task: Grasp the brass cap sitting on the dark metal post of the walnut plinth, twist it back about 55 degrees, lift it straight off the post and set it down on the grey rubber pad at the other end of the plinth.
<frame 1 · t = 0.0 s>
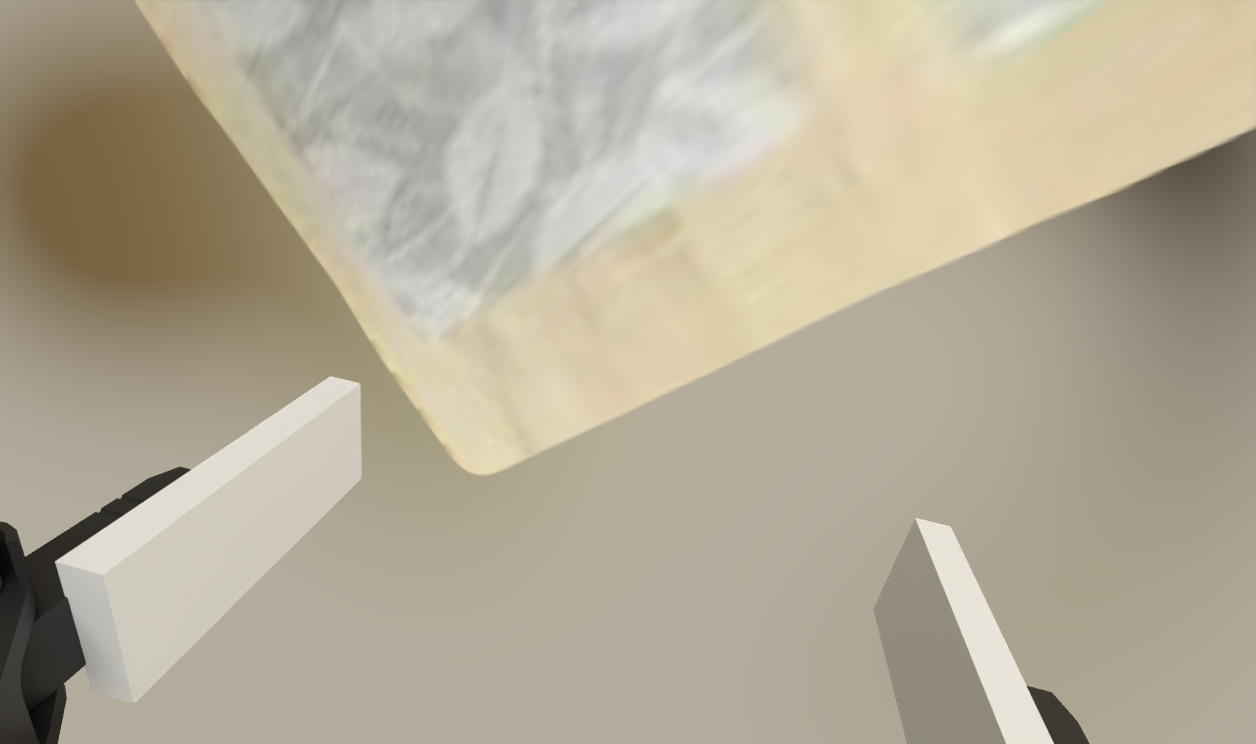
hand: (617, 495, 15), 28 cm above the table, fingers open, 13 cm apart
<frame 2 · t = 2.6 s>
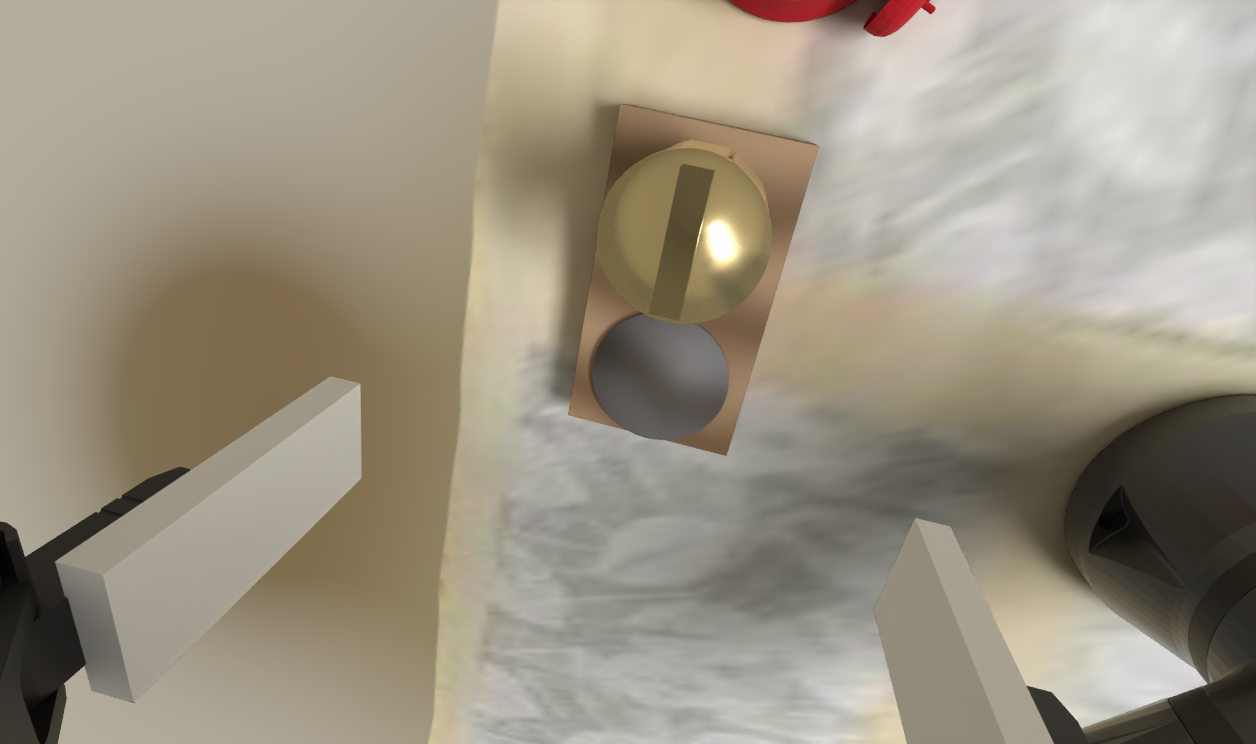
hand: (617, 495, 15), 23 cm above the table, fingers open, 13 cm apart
post plinth: (681, 287, 36), on the table
cap: (694, 215, 30), point 5 cm above the table, touching post plinth
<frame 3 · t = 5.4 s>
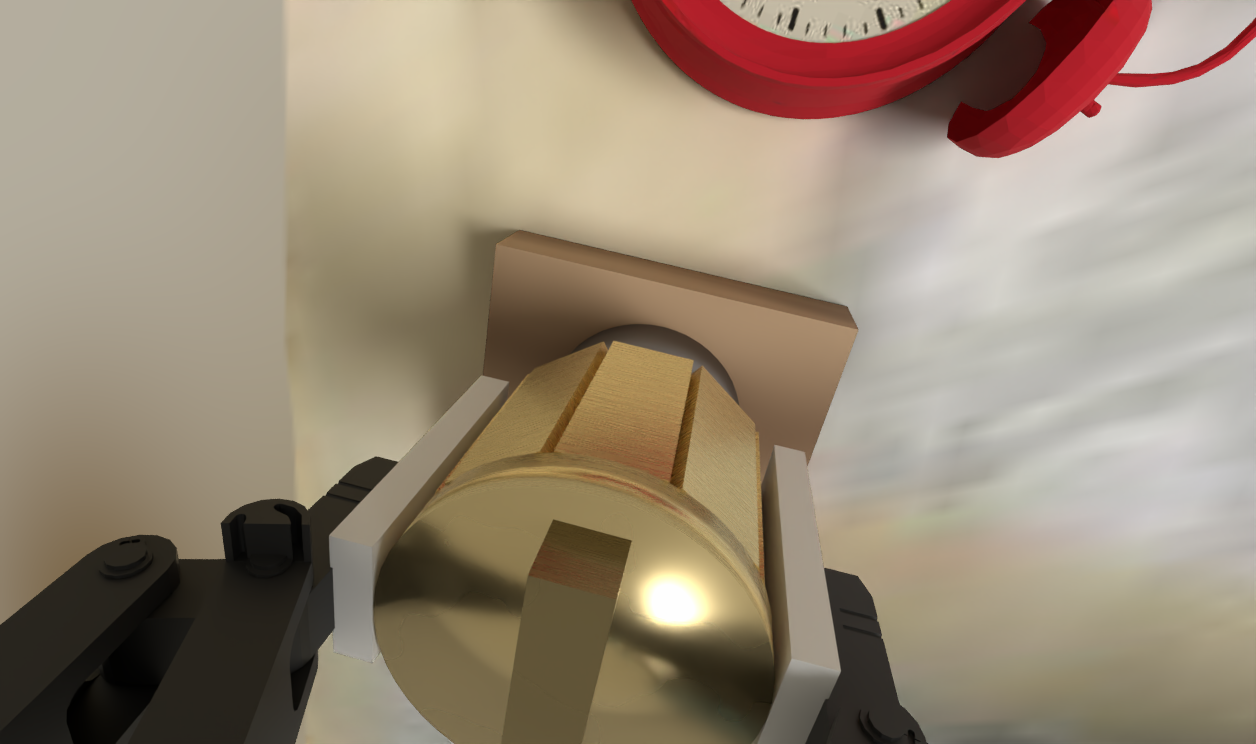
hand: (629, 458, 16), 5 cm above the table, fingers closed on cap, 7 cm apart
post plinth: (624, 507, 22), on the table
cap: (626, 468, 16), point 5 cm above the table, touching gripper, post plinth
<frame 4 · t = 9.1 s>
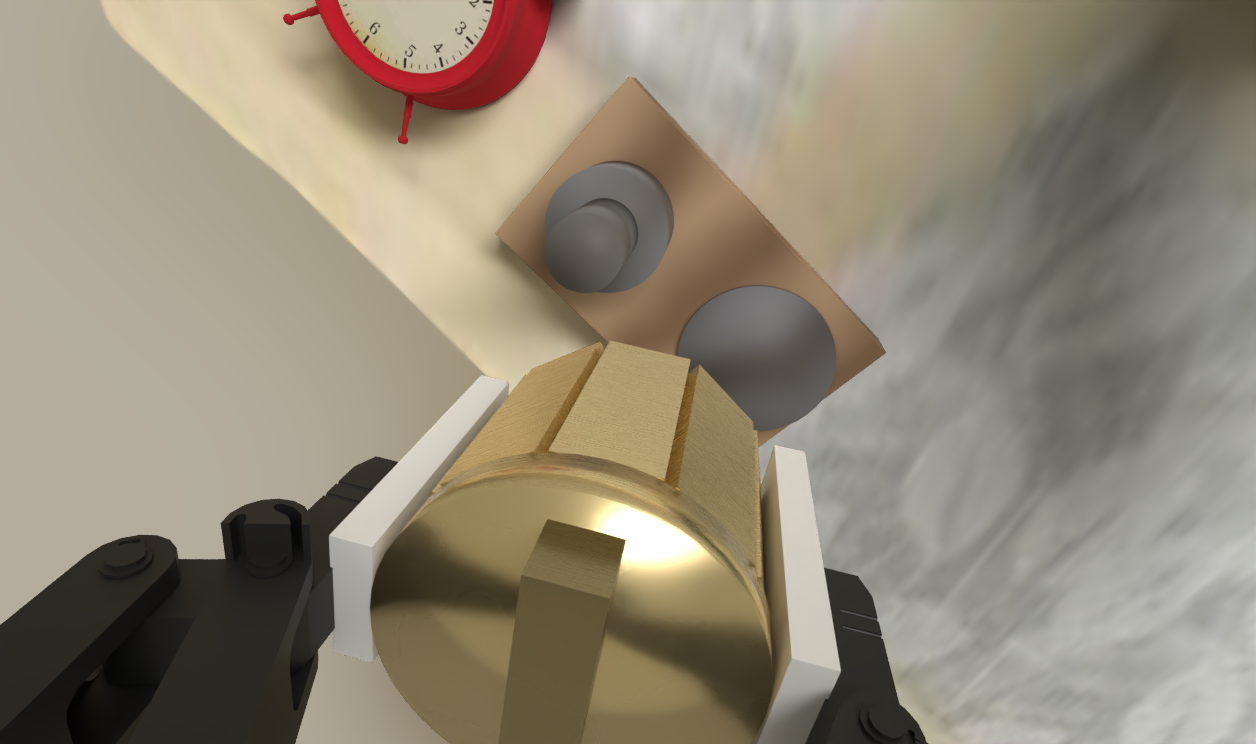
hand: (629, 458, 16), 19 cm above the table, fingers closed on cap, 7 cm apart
post plinth: (690, 281, 33), on the table
cap: (625, 468, 16), point 19 cm above the table, touching gripper
when the fingers open (3 cm above the table, at t = 12.9 s): cap drops 1 cm, resting on post plinth.
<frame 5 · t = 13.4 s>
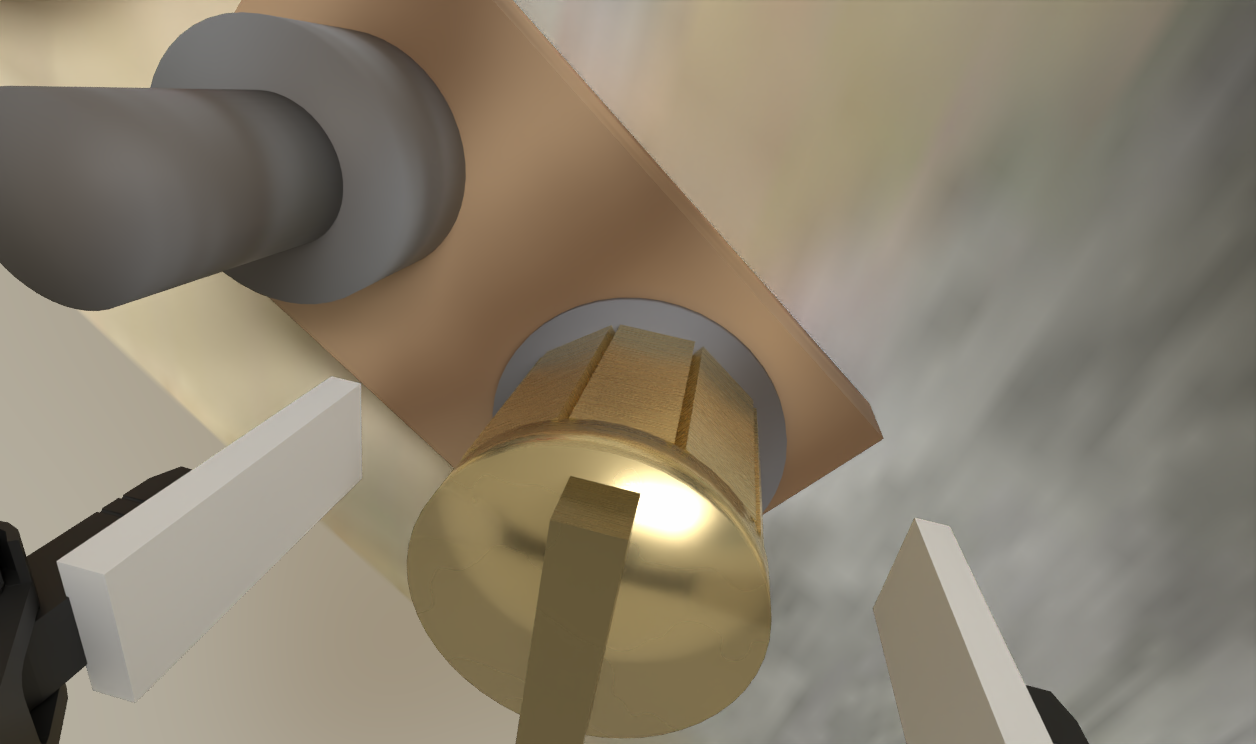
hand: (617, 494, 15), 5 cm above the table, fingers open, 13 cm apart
post plinth: (528, 285, 18), on the table
cap: (633, 444, 17), point 2 cm above the table, touching post plinth
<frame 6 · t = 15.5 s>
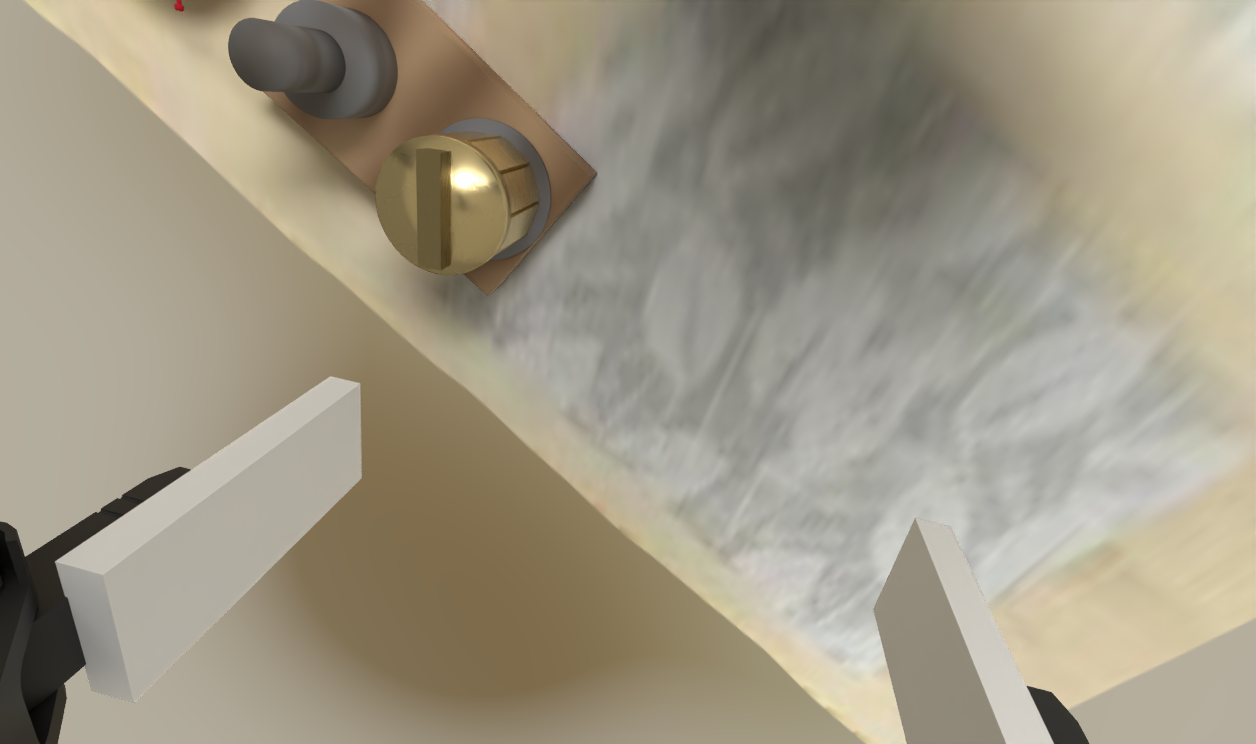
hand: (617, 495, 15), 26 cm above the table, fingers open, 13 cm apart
post plinth: (435, 128, 38), on the table
cap: (483, 192, 37), point 2 cm above the table, touching post plinth
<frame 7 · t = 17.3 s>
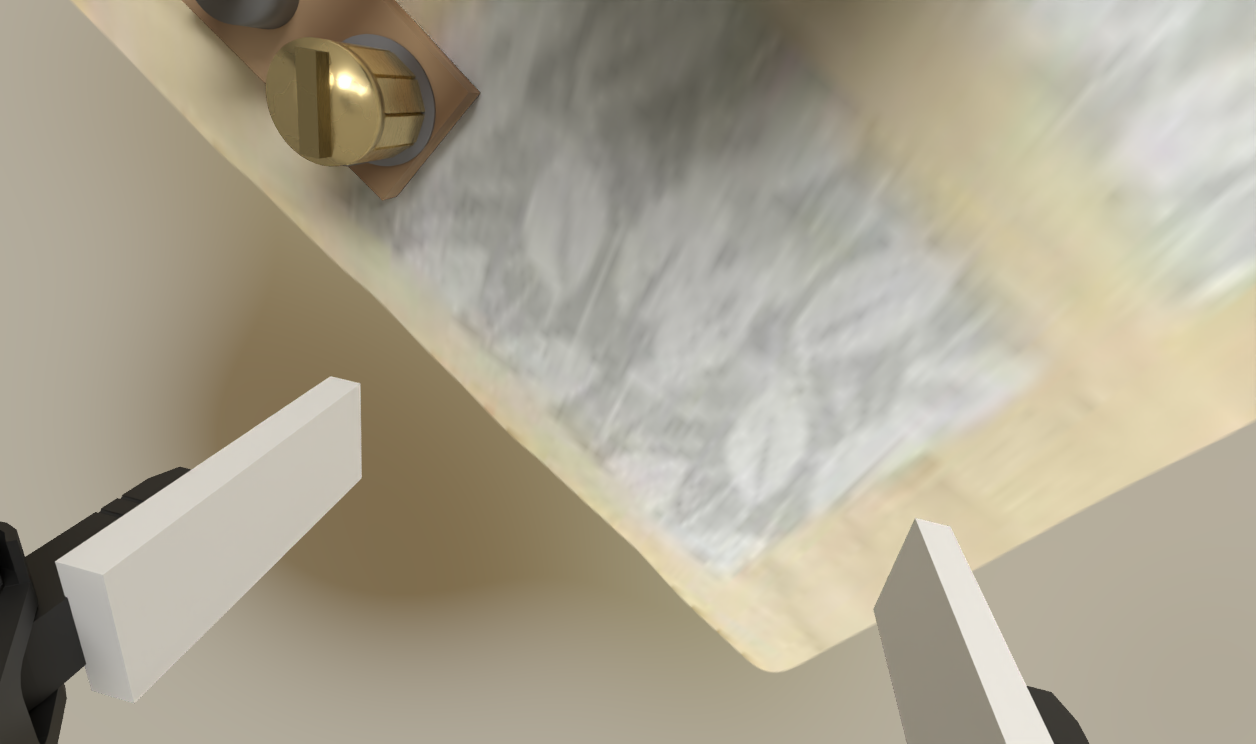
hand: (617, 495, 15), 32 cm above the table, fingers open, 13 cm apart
post plinth: (338, 44, 42), on the table
cap: (376, 103, 41), point 2 cm above the table, touching post plinth
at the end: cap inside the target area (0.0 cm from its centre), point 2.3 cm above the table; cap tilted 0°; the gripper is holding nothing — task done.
